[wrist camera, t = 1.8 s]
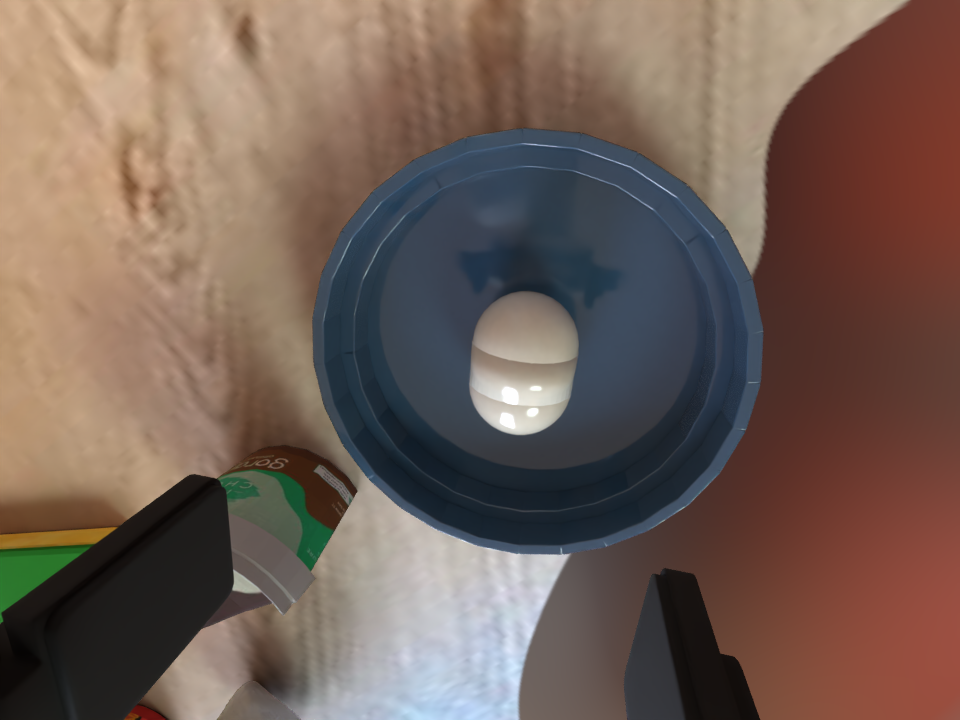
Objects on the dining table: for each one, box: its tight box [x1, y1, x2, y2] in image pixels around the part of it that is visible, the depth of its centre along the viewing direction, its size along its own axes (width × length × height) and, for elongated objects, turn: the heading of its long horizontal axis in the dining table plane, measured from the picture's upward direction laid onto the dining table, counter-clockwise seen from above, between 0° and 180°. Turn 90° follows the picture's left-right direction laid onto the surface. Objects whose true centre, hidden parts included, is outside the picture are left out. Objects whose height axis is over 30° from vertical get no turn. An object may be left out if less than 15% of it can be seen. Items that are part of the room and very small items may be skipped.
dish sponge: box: [0, 527, 117, 623], centre depth 37 cm, size 7×14×2 cm, turn 101°
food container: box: [202, 446, 357, 629], centre depth 27 cm, size 12×6×10 cm, turn 117°
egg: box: [469, 291, 579, 435], centre depth 24 cm, size 7×5×5 cm
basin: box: [312, 128, 764, 555], centre depth 24 cm, size 20×20×4 cm
